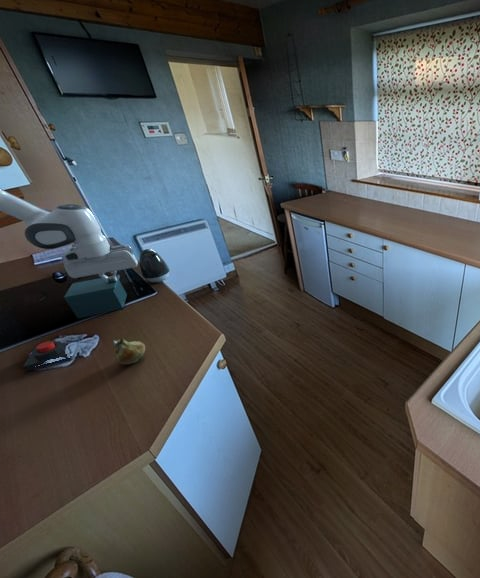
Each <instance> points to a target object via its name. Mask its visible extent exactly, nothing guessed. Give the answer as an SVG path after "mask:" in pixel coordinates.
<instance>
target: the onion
mask: <svg viewBox="0 0 480 578" xmlns="http://www.w3.org/2000/svg"><path fill="white" fill-rule="evenodd" d="M112 343H113V347H114V348H117V350H115V354H116V361H117V363H119V364H121V365H127V366H128V365H132V364H134V363H137V362H139V361H140V360H141V359H142V357H143V356H144V355H145V352H146V344H144V343H143V342H142V341H139V340H133V341H127V340H126V339H124V338H120V339H118V340H117V339H115V340H113V341H112Z"/></svg>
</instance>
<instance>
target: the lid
mask: <svg viewBox="0 0 480 578" xmlns="http://www.w3.org/2000/svg"><path fill="white" fill-rule="evenodd" d="M112 276H113V275H110V276H109V277H112ZM120 277H121V275H120V274H116V278H117V281H115V282H110V283H107V282H106V280H105V279H103V278H101V277H99V278H94V279H89V280H83V281H77V282H73V283H71V285H70V287H69V288H68V290H67V291H66V293H65V295H64V296H63V298H64V300H65V299H68V298H73V297H78V296H83V295H88V294H93V293H98V292H103V291H108V290H113V289H116V286H117V283H118V280H119V281H120Z"/></svg>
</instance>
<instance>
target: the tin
mask: <svg viewBox="0 0 480 578" xmlns="http://www.w3.org/2000/svg"><path fill="white" fill-rule="evenodd" d="M127 296H128V293H127V292H126V290H125V288H124V286H123V283H122V282H121V281H120V279H119V280H118V283H117V286H116V289H113V290H108V291H103V292H98V293H93V294H88V295H83V296H78V297H73V298H68V299H65V298H64V301H65V302H66V303H67V305H68V306H69V308H70V309H71V310H72V312H73V313H74V315H75V316H76V318H77V319H78V320H79V319H84V318H88V317H92V316H96V315H100V314H106V313H109V312H114V311H118V310H123V309H124V307H125V305H126V304H125V303H126V300H127V298H128V297H127Z"/></svg>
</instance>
